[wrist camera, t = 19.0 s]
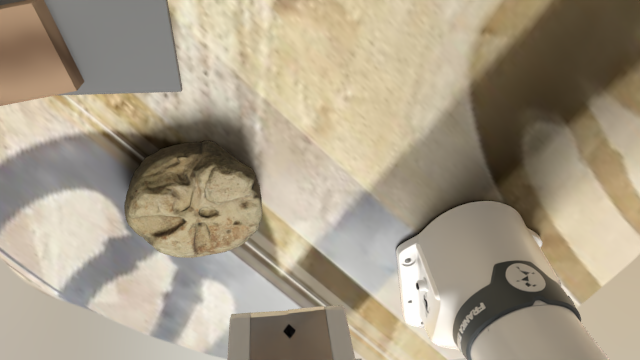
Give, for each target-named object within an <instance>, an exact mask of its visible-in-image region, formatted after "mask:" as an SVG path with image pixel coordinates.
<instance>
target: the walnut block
mask: <svg viewBox="0 0 640 360" xmlns="http://www.w3.org/2000/svg"><path fill="white" fill-rule="evenodd" d="M83 83H84V80H83V78H82V76H81V74H80V72H79V70H78V68H77V66H76V64H75V62H74V60H73V57H72V55H71V53H70V51H69V49H68V47H67V45H66V43H65V41H64V39H63V37H62V35H61V33H60V31H59V29H58V27H57V25H56V23H55V21H54V19H53V17H52V15H51V13H50V11H49V9H48V7H47V5H46V3H45V1H44V0H25V1H20V2H15V3H10V4H5V5H0V106H2V105H7V104H13V103H18V102H23V101H28V100H33V99H38V98H43V97H48V96H53V95H58V94H64V93H69V92H74V91H77V90H78V89H79V88H80V87H81V85H82V84H83Z"/></svg>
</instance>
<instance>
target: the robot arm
mask: <svg viewBox="0 0 640 360" xmlns="http://www.w3.org/2000/svg"><path fill="white" fill-rule="evenodd" d="M541 246H542V240H541V239H540V237H539V235H538V234H537V233H535V232H534V231H532V230H530V229H528V228H527V227H526V225H525V223H524V221H523V219H522V217H521V215H520V214H519V213H518V212H517V211H516V210H515V209H514V208H512V207H510V206H508V205H506V204H503V203H500V202H494V201H478V202H472V203H467V204H464V205H460V206H458V207H455V208H453V209H451V210H449V211H447V212H445V213H443V214H442V215H440V216H439V217H437V218H436V219H435V220H433V221H432V222H431V223H430V224H429V225H428V226H427V227H426V228H425V229H424V230H423V231H422V232H421V233H419V234H418V235H417V236H415V237H413V238H411V239H409V240H407V241H405V242H404V243H402V244H401V245H399V246H398V248H397V250H396V256H397V266H398V275H399V285H400V295H401V304H402V313H403V318H404V320H405V322H406V323H407V324H409V325H412V326H415V327H421V328H425V329H426V332H427V334H428V336H429V338H430V340H431V341H432V342H433V343H434V344H436V345H438V346H441V347H445V348H452V349H459V350H460V352H461V353H463V355H464V356H465V357H466V359H467V360H610V359H609V358H608V357H607V355H606V354H605V353H604V352H603V350H602V349H601V348H600V347H599V346H598V344H597V343H596V342H595V340H594V339H593V338H592V337H591V335H590V334H589V333H588V331H587V330H586V329H585V328H584V326H583V325H582V323H581V317H580V314H579V312H578V310H577V309H576V307H575V305H574V303H573V301H572V300H571V298H570V297H569V296H567V295H566V293H565V292H564V290H563V289H562V288H561V282H560V280H559V279H558V277H557V275H556V273H555V272H554V270H553V268H552V267H551V265H550V263H549V262H548V260H547V258H546V257H545V255H544V253H543V252H542V250H541V249H540V248H541ZM227 360H361V359H355V356H354V351H353V347H352V342H351V337H350V332H349V327H348V323H347V318H346V313H345V308H344V307H343V305H338V306H327V307H324V306H322V307H312V308H302V309H292V310H288V311H273V312H256V313H242V314H231V318H230V327H229V343H228V359H227Z"/></svg>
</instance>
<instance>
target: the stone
mask: <svg viewBox="0 0 640 360" xmlns="http://www.w3.org/2000/svg"><path fill="white" fill-rule="evenodd" d="M125 216H126V220H127V222H128V224H129V226H130V227H131V228H132V229H133V230H134V231H135V232H136V233H137V234H138V235H139V236H141V237H143V238H144V239H145V240H146V241H147V242H148V243H149V244H151V245H152V246H153V247H154V248H155V249H157V250H158V251H159V252H161V253H164V254H167V255H170V256H174V257H201V256H206V255H211V254H217V253H222V252H226V251H229V250H231V249H234V248H237V247H239V246H240V245H242V244H243V243H245V242H246V241H247V240H248V239H249V238H250V237H251V236H252V235H253V234H254V233H255V232H256V231H257V229H258V228H259V225H260V221H261V219H262V204H261V194H260V187H259V184H258V183H257V179H256V176H255V173H254V171H253V170H252V169H251V167H249V166H247V165H244V164H243V163H241V162H240V161H239V160H237V159H236V158H235V157H234V156H232V155H231V154H229V153H228V152H226V151H225V150H224V149H223V148H221V147H220V146H219V145H217V144H216V143H214V142H212V141H203V142H200V143H197V142H196V143H183V144H178V145H173V146H170V147H167V148H162V149H160V150H159V151H158V152H157V153H154V154H152V155H150V156H148V157H146V158H145V159H144V160H143V161H142V163H141V165H140V166H139V168H137V169H136V170H135V172H134V175H133V177H132V180H131V182H130V185H129V189H128V192H127V195H126V201H125Z"/></svg>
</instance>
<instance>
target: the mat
mask: <svg viewBox="0 0 640 360" xmlns="http://www.w3.org/2000/svg"><path fill="white" fill-rule="evenodd" d="M20 1H25V0H0V5H5V4H10V3H15V2H20ZM44 1H45V3H46V5H47V7H48V9H49V11H50V13H51V15H52V17H53V19H54V21H55V23H56V25H57V27H58V29H59V31H60V33H61V35H62V37H63V39H64V41H65V43H66V45H67V47H68V49H69V51H70V53H71V55H72V57H73V60H74V62H75V64H76V66H77V68H78V70H79V72H80V74H81V76H82V78H83V80H84V83H83V84H82V85H81V87H80V88H79V89H78V90H77V91H74V92H69V93H64V94H58V95H82V94H116V93H149V92H181V91H182V85H181V79H180V73H179V67H178V62H177V56H176V50H175V44H174V38H173V32H172V26H171V20H170V15H169V9H168V3H167V0H44Z"/></svg>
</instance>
